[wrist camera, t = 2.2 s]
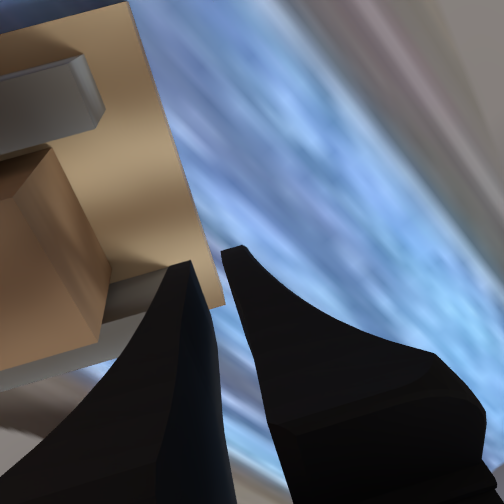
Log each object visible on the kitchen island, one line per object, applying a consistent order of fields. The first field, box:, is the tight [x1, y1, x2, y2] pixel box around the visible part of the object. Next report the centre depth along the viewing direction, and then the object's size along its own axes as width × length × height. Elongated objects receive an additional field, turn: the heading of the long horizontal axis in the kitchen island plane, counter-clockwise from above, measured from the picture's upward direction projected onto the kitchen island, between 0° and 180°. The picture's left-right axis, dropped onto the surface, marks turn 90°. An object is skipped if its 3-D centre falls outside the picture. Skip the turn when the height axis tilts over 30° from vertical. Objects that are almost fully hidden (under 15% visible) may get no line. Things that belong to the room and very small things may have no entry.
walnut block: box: [0, 147, 112, 371], centre depth 16 cm, size 6×5×5 cm
